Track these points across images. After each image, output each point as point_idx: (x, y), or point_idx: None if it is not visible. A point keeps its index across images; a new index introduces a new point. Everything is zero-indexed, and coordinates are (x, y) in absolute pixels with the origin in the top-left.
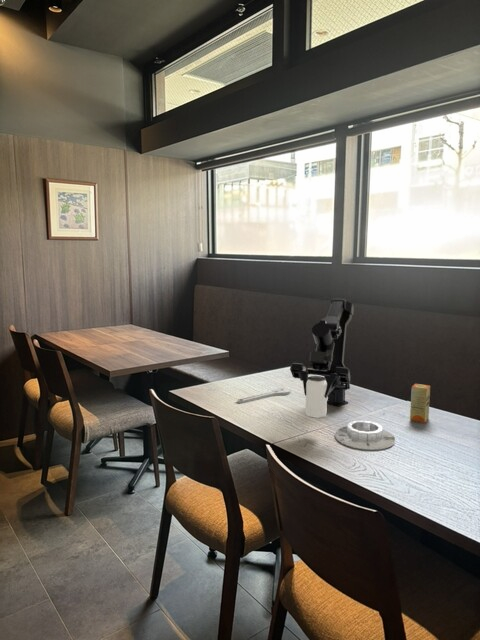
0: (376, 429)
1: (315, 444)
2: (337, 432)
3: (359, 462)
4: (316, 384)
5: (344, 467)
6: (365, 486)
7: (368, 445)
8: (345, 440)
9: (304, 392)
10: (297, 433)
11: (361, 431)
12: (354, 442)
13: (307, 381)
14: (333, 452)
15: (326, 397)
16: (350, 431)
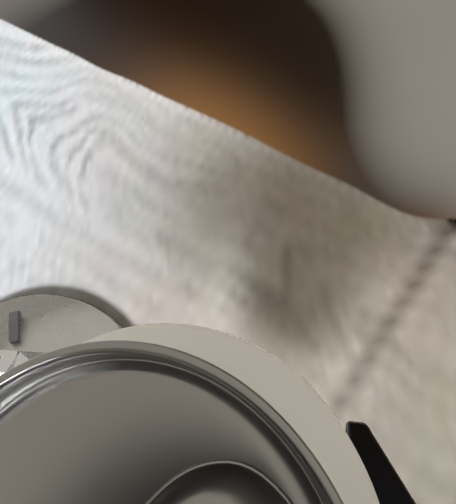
0: None
1: (242, 287)
2: None
3: (67, 185)
4: (121, 333)
5: (116, 132)
6: (62, 54)
7: (13, 318)
8: None
9: (374, 438)
10: (367, 407)
11: (1, 366)
12: (67, 336)
13: (355, 495)
14: (158, 233)
15: None
16: None
